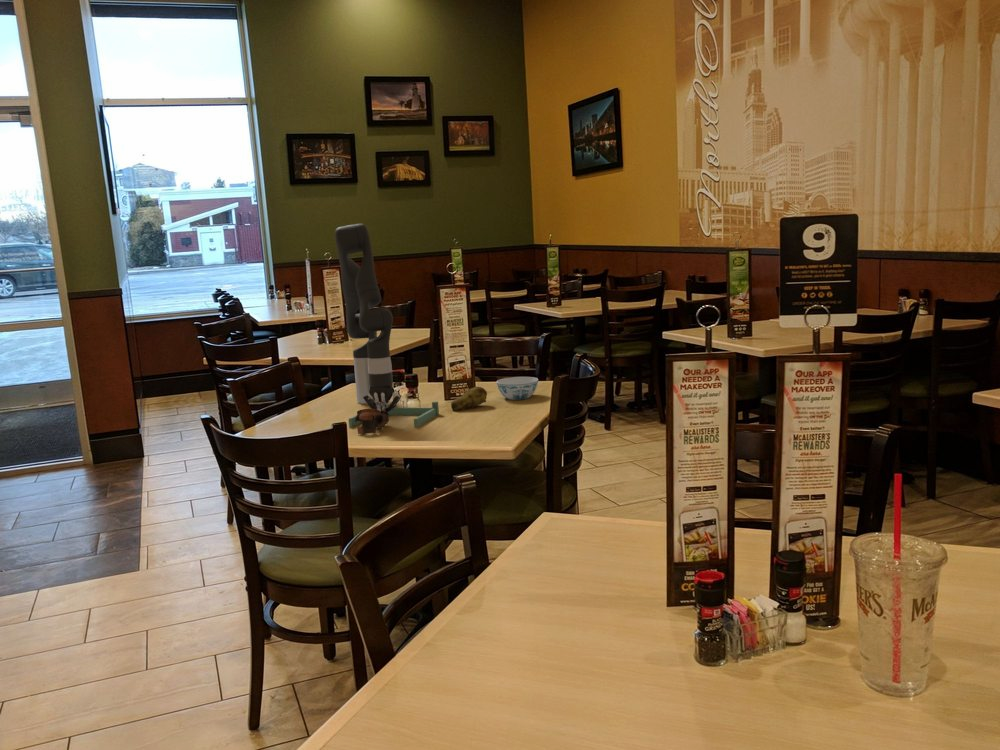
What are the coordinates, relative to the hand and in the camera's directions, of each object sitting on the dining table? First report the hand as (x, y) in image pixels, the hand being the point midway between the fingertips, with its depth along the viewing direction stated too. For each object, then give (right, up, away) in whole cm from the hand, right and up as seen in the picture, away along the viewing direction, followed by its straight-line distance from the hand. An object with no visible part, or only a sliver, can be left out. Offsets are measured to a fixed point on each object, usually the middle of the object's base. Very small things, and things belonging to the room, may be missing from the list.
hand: (384, 423), depth 270 cm
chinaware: (+44, +6, +30) cm, 54 cm away
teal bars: (+2, 0, +7) cm, 7 cm away
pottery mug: (-2, -3, -8) cm, 9 cm away
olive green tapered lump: (+27, +3, +19) cm, 33 cm away
